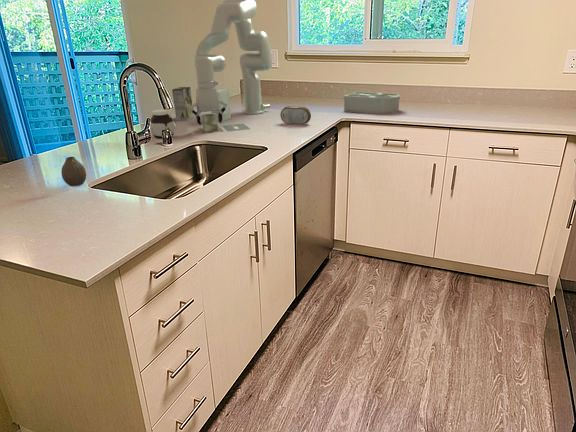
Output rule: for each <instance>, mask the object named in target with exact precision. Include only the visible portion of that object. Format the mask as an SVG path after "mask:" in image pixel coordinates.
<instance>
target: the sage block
mask: <svg viewBox="0 0 576 432" xmlns="http://www.w3.org/2000/svg"><path fill="white" fill-rule="evenodd" d="M201 120H202V121H201V123H202V128H203V130H204V131H205V132H209V131H218V126H219V124H218V123H219V121H217V115H216V114H215V113H212V112H211V113H203V114H202V113H201Z"/></svg>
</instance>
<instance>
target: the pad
mask: <svg viewBox="0 0 576 432" xmlns="http://www.w3.org/2000/svg"><path fill="white" fill-rule="evenodd" d="M197 129H198V131H200V133H201V134H211V133H212V134H213V133H223V132H225V131H224V130H223V129H222V128H221V127H220V126H219V125H218V131H209V132H205V131H204V130H203V127H200V128H197Z"/></svg>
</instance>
